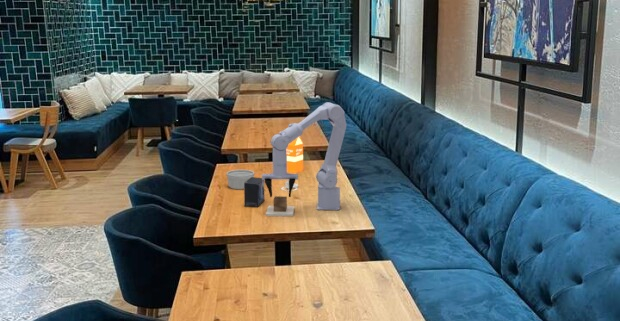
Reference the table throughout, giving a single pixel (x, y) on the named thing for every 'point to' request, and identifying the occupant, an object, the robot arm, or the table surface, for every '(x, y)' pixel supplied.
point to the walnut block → (280, 204)
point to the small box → (253, 192)
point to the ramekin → (238, 178)
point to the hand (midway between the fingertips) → (280, 196)
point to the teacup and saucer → (288, 186)
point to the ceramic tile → (288, 212)
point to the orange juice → (295, 156)
